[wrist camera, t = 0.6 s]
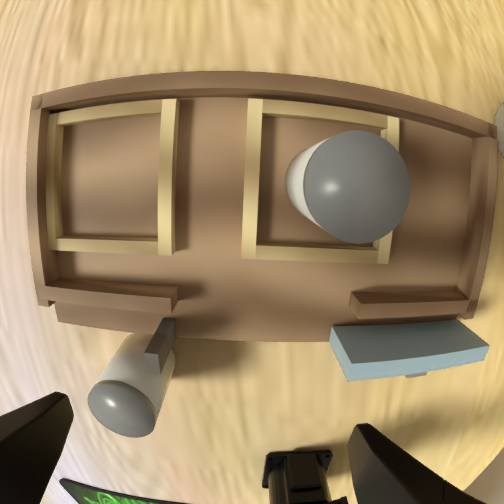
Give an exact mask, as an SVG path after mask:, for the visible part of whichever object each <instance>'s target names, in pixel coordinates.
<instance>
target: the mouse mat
mask: <svg viewBox="0 0 504 504" xmlns="http://www.w3.org/2000/svg"><path fill="white" fill-rule="evenodd" d="M59 482H60V484H61V485H62V486H63V487H64V489H65V490H66V491H67V492H68V493H69V494H70V495H71V496H72V497H73V498H74V499H75V500H76V501H77V502H78V503H79V504H183V503H173V502H165V501H157V500H151V499H144V498H139V497H133V496H129V495H124V494H119V493H114V492H109V491H105V490H101V489H98V488H94V487H90V486H86V485H83V484H80V483H76V482H73V481H70V480H67V479H60V481H59Z"/></svg>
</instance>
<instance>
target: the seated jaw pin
mask: <svg viewBox="0 0 504 504" xmlns="http://www.w3.org/2000/svg"><path fill="white" fill-rule="evenodd" d="M285 191H286V194H287V197H288V199H289V201H290V203H291V204H292V205H293V207H294V208H295V209H296V210H297V211H298V212H300V213H301V214H302V215H304V216H305V217H307V218H308V219H310V220H311V221H312V222H314V223H315V224H317V225H318V226H320V227H321V228H322V229H324V230H325V231H327V232H328V233H329V234H331V235H332V236H334V237H336V238H338V239H340V240H342V241H345V242H349V243H356V244H362V243H370V242H373V241H376V240H378V239H381V238H383V237H384V236H386V235H387V234H389V233H390V232H391V231H392V230H393V229H394V228H395V227H396V226H397V225H398V224H399V222H400V221H401V219H402V218H403V216H404V214H405V211H406V209H407V206H408V202H409V197H410V179H409V174H408V170H407V167H406V165H405V163H404V161H403V159H402V157H401V155H400V154H399V152H398V151H397V150H396V149H395V147H394V146H393V145H391V144H390V143H389V142H388V141H387V140H385V139H384V138H382V137H380V136H379V135H376V134H374V133H371V132H367V131H361V130H353V131H346V132H342V133H340V134H337V135H335V136H332V137H330V138H328V139H326V140H324V141H321V142H319V143H317V144H315V145H313V146H311V147H308V148H306V149H304V150H303V151H301V152H299V153H298V154H297V155H296V156H295V157H294V158H293V159H292V160H291V162H290V164H289V165H288V168H287V170H286V174H285Z"/></svg>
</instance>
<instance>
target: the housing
mask: <svg viewBox="0 0 504 504" xmlns="http://www.w3.org/2000/svg"><path fill="white" fill-rule="evenodd" d="M353 130H361V131H367V132H371V133H374V134H376V135H379V136H380V137H382V138H384V139H385V140H387V141H388V142H389V143H390V144H391V145H393V146H394V147H395V149H396V150H397V151H398V152H399V154H400V155H401V157H402V159H403V161H404V163H405V165H406V167H407V170H408V174H409V179H410V197H409V202H408V206H407V209H406V211H405V214H404V216H403V218H402V219H401V221H400V222H399V224H398V225H397V226H396V227H395V228H394V229H393V230H392V231H391V232H390V233H389V234H387V235H386V236H384V237H383V238H381V239H378V240H376V241H373V242H370V243H362V244H356V243H349V242H345V241H342V240H340V239H338V238H336V237H334V236H332V235H331V234H329V233H328V232H327V231H325V230H324V229H322V228H321V227H320V226H318V225H317V224H315V223H314V222H312V221H311V220H310V219H308V218H307V217H305V216H304V215H302V214H301V213H300V212H298V211H297V210H296V209H295V208H294V207H293V205H292V204H291V203H290V201H289V199H288V197H287V194H286V191H285V174H286V170H287V168H288V165H289V164H290V162H291V160H292V159H293V158H294V157H295V156H296V155H297V154H298V153H299V152H301V151H303V150H304V149H306V148H308V147H311V146H313V145H315V144H317V143H319V142H321V141H324V140H326V139H328V138H330V137H332V136H335V135H337V134H340V133H342V132H346V131H353ZM497 158H498V145H497V126H495V125H493V124H490V123H488V122H485V121H483V120H480V119H478V118H475V117H473V116H470V115H468V114H465V113H462V112H459V111H456V110H454V109H451V108H448V107H445V106H442V105H439V104H436V103H432V102H429V101H426V100H422V99H419V98H415V97H412V96H408V95H404V94H400V93H396V92H392V91H388V90H384V89H379V88H375V87H370V86H365V85H360V84H355V83H349V82H344V81H338V80H331V79H324V78H317V77H309V76H301V75H291V74H280V73H265V72H244V71H196V72H175V73H161V74H150V75H140V76H131V77H124V78H117V79H110V80H104V81H98V82H92V83H87V84H82V85H77V86H72V87H68V88H63V89H59V90H55V91H51V92H47V93H43V94H40V95H36V96H33V97H32V103H31V110H30V119H29V129H28V142H27V162H26V202H27V222H28V235H29V246H30V255H31V263H32V270H33V277H34V283H35V289H36V294H37V300H38V305H40V306H46V307H50V306H51V305H52V304H55V309H56V314H57V319H58V322H63V323H69V324H75V325H81V326H87V327H94V328H101V329H108V330H115V331H123V332H132V333H140V334H150V335H153V337H152V339H151V341H150V342H149V344H148V346H147V348H146V350H145V352H144V357H145V364H146V370H147V373H149V374H157V375H161V373H162V370H163V368H164V365H165V363H166V360H167V358H168V355H169V353H170V350H171V348H172V346H173V343H174V341H175V338H176V337H183V338H196V339H212V340H231V341H260V342H329V340H330V334H331V328H332V326H364V325H388V324H406V323H421V322H434V321H446V320H456V317H457V314H458V315H459V316H461V317H462V318H463V319H471V318H473V316H474V313H475V309H476V306H477V302H478V298H479V294H480V290H481V286H482V282H483V278H484V273H485V268H486V263H487V258H488V253H489V247H490V241H491V234H492V227H493V219H494V210H495V199H496V185H497Z"/></svg>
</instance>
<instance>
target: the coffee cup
mask: <svg viewBox="0 0 504 504" xmlns="http://www.w3.org/2000/svg"><path fill="white" fill-rule="evenodd" d="M495 126H497V144H498V147H499V150H500V152H501V154H502V156H503V157H504V102H503V104H502V105H501V106H500V108H499V109H498V110H497V113H496V115H495Z"/></svg>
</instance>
